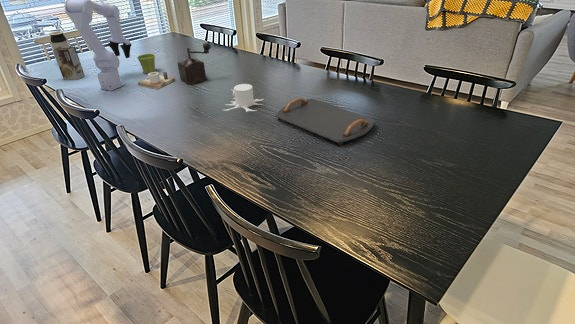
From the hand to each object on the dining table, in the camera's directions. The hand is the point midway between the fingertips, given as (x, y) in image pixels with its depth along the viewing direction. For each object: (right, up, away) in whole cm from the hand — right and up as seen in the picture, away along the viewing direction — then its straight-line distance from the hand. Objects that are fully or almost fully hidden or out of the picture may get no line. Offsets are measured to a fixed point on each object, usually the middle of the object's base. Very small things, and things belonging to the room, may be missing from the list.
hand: (122, 56), depth 200 cm
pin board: (+20, -15, -5) cm, 25 cm away
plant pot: (+10, -6, +10) cm, 16 cm away
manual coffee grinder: (+40, -12, -2) cm, 42 cm away
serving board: (+101, -41, -49) cm, 120 cm away
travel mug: (-46, +4, +29) cm, 55 cm away
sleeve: (+21, -16, -10) cm, 28 cm away
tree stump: (+67, -30, -31) cm, 80 cm away
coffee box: (-29, -10, +6) cm, 31 cm away
